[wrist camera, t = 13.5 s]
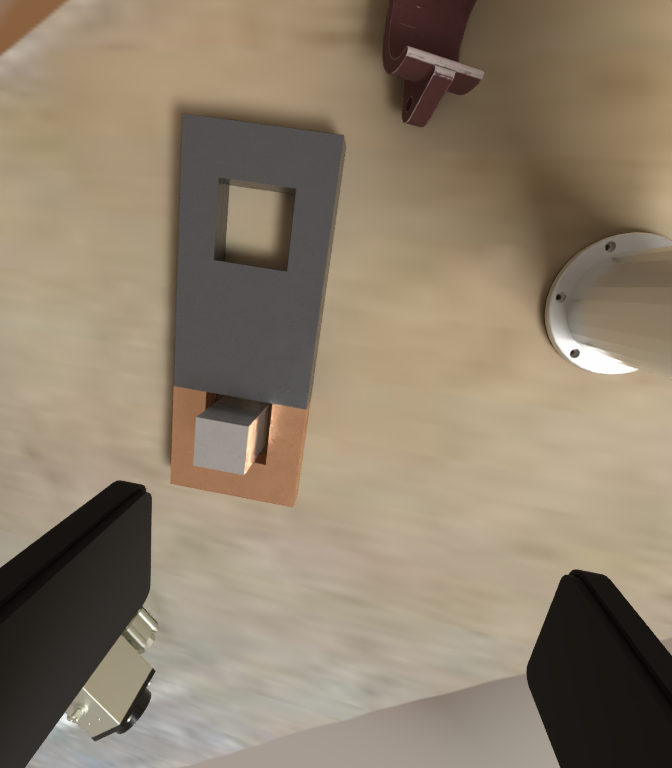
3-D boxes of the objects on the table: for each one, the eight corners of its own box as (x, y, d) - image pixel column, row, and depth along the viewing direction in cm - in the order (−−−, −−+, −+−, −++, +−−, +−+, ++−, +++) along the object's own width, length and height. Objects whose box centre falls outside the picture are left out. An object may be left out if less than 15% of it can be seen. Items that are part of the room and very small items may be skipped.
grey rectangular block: (269, 403, 40) (248, 426, 33) (265, 444, 41) (244, 475, 35) (225, 395, 40) (195, 417, 34) (222, 436, 42) (193, 465, 35)
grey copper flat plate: (346, 146, 33) (343, 135, 30) (297, 494, 43) (292, 507, 40) (196, 125, 34) (182, 113, 31) (181, 472, 43) (170, 483, 41)
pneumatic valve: (126, 582, 49) (48, 674, 37) (182, 643, 50) (125, 749, 39) (98, 598, 50) (15, 692, 38) (153, 657, 52) (90, 764, 40)
